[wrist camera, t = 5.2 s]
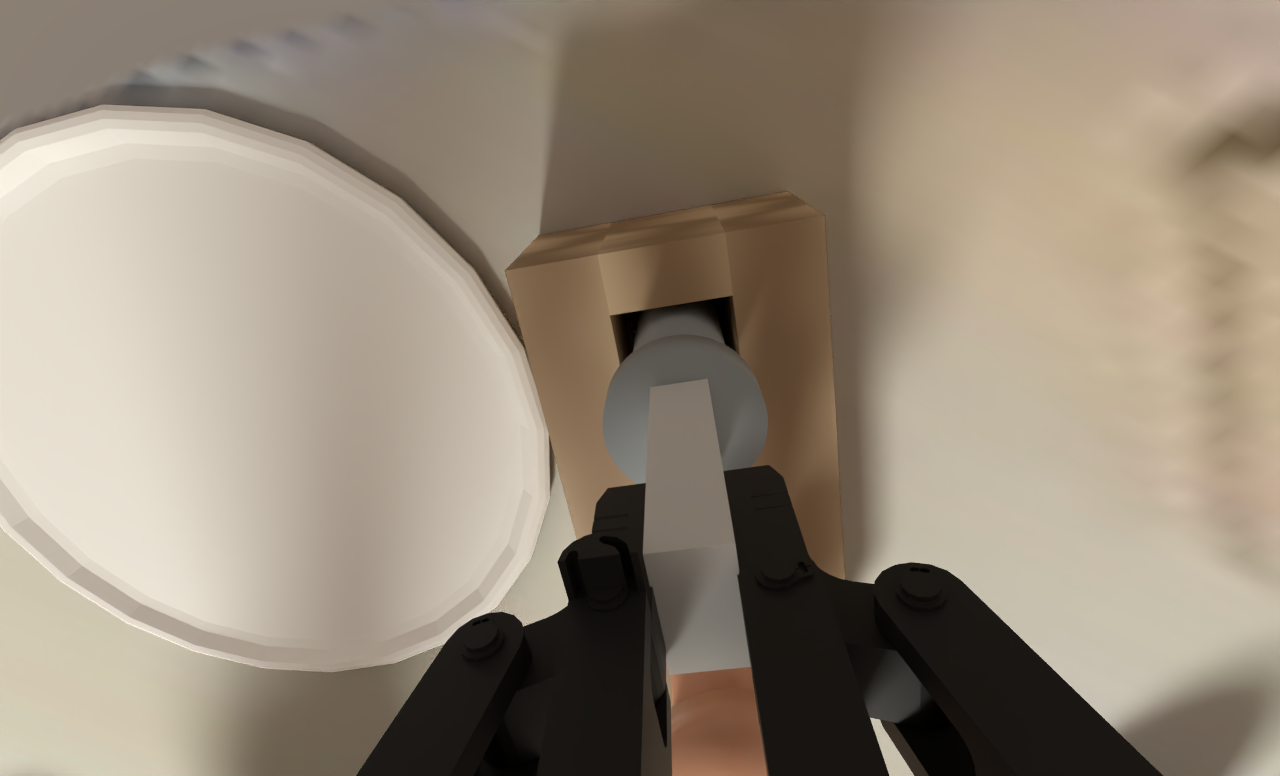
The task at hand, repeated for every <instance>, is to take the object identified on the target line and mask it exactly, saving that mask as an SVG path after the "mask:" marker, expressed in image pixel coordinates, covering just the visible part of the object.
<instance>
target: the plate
mask: <svg viewBox="0 0 1280 776" xmlns="http://www.w3.org/2000/svg"><path fill="white" fill-rule="evenodd" d="M550 495H551V494H550V451H549V433H548V430H547V426H546V422H545V418H544V415H543V411H542V407H541V404H540V400H539V396H538V392H537V389H536V385H535V381H534V377H533V374H532V370H531V367H530V364H529V361H528V357H527V354H526V351H525V348H524V346H523V345H522V343H521V341H520V340H519V338H518V337H517V335H516V334H515V332H514V330H513V329H512V327H511V326H510V324H509V322H508V321H507V319H506V318H505V316H504V315H503V313H502V311H501V310H500V308H499V307H498V305H497V304H496V302H495V300H494V299H493V297H492V296H491V294H490V292H489V291H488V289H487V288H486V286H485V285H484V283H483V281H482V280H481V278H480V277H479V275H478V274H477V272H476V270H475V269H474V268H473V267H472V266H471V265H470V264H469V263H468V262H467V261H466V260H465V259H464V258H463V257H462V256H461V255H460V254H459V253H458V252H457V251H456V250H454V249H453V248H452V247H451V246H450V245H449V244H448V243H447V242H446V241H445V240H444V239H443V238H442V237H441V236H440V235H439V234H438V233H437V232H436V231H435V230H434V229H433V228H432V227H431V226H430V225H429V224H428V223H427V222H426V221H425V220H424V219H423V218H422V217H421V216H420V215H419V214H418V213H417V212H415V211H414V210H413V209H412V208H411V207H410V206H409V205H408V204H407V203H406V202H405V201H404V200H403V199H402V198H401V197H399V196H397V195H396V194H394V193H393V192H391V191H389V190H388V189H386V188H384V187H383V186H381V185H379V184H378V183H376V182H374V181H373V180H371V179H369V178H368V177H366V176H365V175H363V174H361V173H360V172H358V171H356V170H355V169H353V168H351V167H350V166H348V165H346V164H345V163H343V162H341V161H340V160H338V159H337V158H335V157H333V156H332V155H330V154H328V153H327V152H325V151H323V150H322V149H320V148H318V147H317V146H315V145H313V144H312V143H310V142H308V141H305V140H302V139H298V138H295V137H292V136H289V135H286V134H283V133H280V132H277V131H273V130H270V129H267V128H264V127H261V126H258V125H255V124H251V123H248V122H245V121H242V120H239V119H236V118H233V117H230V116H226V115H223V114H220V113H217V112H214V111H211V110H208V109H193V108H171V107H148V106H126V105H99V106H96V107H92V108H88V109H85V110H81V111H78V112H74V113H70V114H67V115H63V116H60V117H56V118H52V119H49V120H45V121H42V122H38V123H34V124H31V125H27V126H24V127H20V128H16V129H14V130H13V131H12V132H10V133H9V134H8V135H7V136H5V137H4V138H3V139H1V140H0V527H1V528H2V530H3V531H5V532H6V533H7V534H8V535H9V536H10V537H11V538H12V539H14V540H15V541H16V542H17V543H18V544H19V545H20V546H21V547H23V548H24V549H25V550H26V551H27V552H28V553H29V554H30V555H32V556H33V557H34V558H35V559H36V560H37V561H38V562H39V563H40V564H42V565H43V566H44V567H45V568H46V569H47V570H48V571H49V572H51V573H52V574H53V575H54V576H55V577H56V578H57V579H58V580H60V581H61V582H62V583H64V584H65V585H67V586H68V587H70V588H71V589H73V590H75V591H76V592H78V593H79V594H81V595H83V596H84V597H86V598H87V599H89V600H91V601H92V602H94V603H95V604H97V605H98V606H100V607H102V608H103V609H105V610H106V611H108V612H110V613H111V614H113V615H114V616H116V617H117V618H119V619H121V620H122V621H124V622H125V623H127V624H130V625H132V626H134V627H137V628H139V629H141V630H144V631H146V632H149V633H151V634H153V635H156V636H158V637H160V638H163V639H165V640H167V641H170V642H172V643H174V644H177V645H179V646H182V647H184V648H186V649H189V650H191V651H193V652H197V653H201V654H205V655H209V656H213V657H217V658H222V659H226V660H230V661H234V662H238V663H242V664H246V665H251V666H255V667H259V668H263V669H281V670H298V671H315V672H338V671H345V670H352V669H359V668H366V667H373V666H380V665H387V664H394V663H397V662H399V661H402V660H405V659H407V658H410V657H412V656H415V655H417V654H420V653H422V652H425V651H427V650H430V649H432V648H435V647H438V646H440V645H443V644H445V643H446V642H447V640H448V639H449V638H450V637H451V636H452V635H453V634H454V632H455V631H456V630H457V629H458V628H459V627H461V626H462V625H464V624H465V623H467V622H468V621H470V620H471V619H473V618H476V617H479V616H481V615H484V614H487V613H489V612H490V611H492V610H493V609H494V608H496V607H497V606H498V605H499V603H500V602H501V601H502V599H503V598H504V596H505V595H506V593H507V592H508V591H509V589H510V588H511V586H512V585H513V584H514V582H515V581H516V579H517V578H518V577H519V575H520V574H521V572H522V571H523V570H524V568H525V567H526V565H527V564H528V562H529V561H530V560H531V558H532V556H533V553H534V549H535V546H536V543H537V539H538V536H539V533H540V529H541V526H542V523H543V519H544V516H545V513H546V509H547V506H548V503H549V499H550Z"/></svg>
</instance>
